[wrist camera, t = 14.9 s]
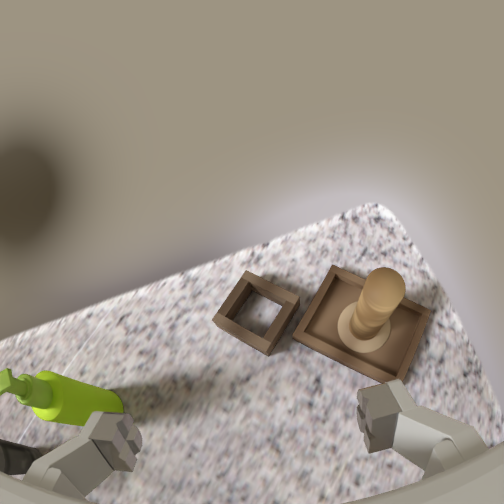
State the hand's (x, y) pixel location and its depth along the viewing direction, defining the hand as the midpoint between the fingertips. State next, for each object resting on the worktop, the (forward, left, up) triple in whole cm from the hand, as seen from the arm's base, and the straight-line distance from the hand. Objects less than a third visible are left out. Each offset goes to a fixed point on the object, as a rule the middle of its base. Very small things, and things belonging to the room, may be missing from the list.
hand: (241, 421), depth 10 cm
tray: (-3, -15, -29) cm, 33 cm away
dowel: (-3, -15, -28) cm, 32 cm away
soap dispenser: (+21, +14, -29) cm, 38 cm away
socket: (+10, -10, -29) cm, 32 cm away
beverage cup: (+27, +32, -29) cm, 51 cm away
